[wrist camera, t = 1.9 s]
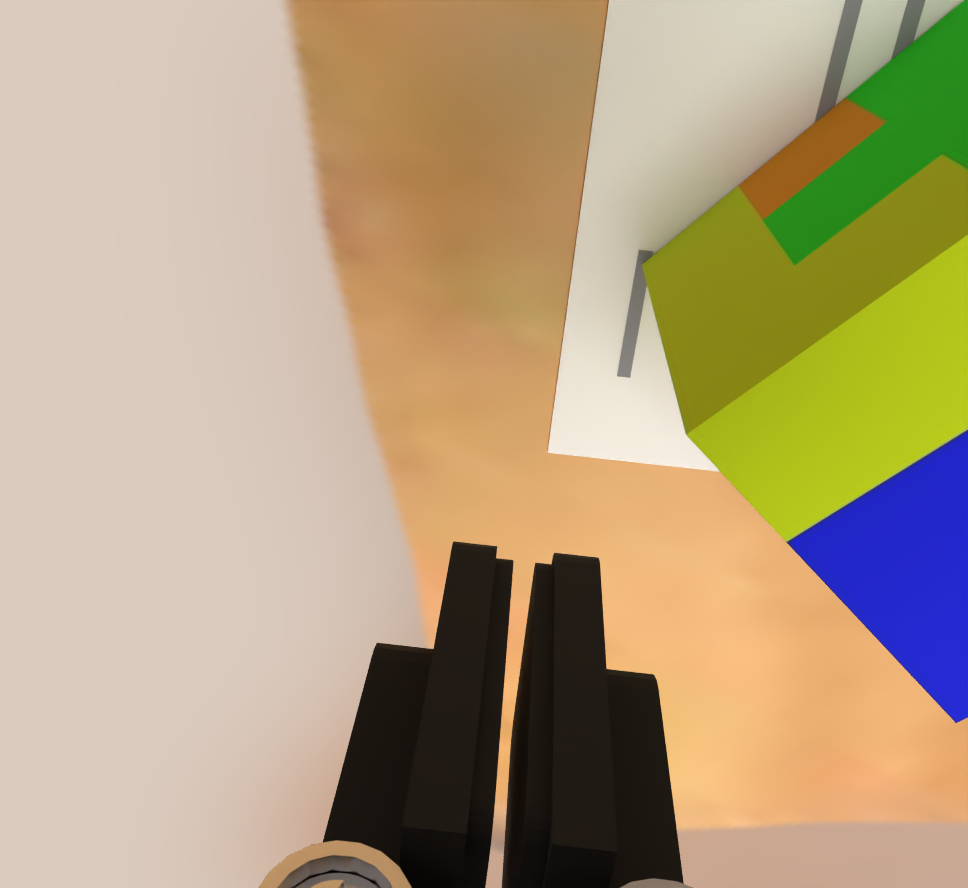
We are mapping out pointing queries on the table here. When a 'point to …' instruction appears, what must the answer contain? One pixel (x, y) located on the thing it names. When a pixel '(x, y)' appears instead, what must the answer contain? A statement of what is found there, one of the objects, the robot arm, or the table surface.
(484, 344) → the table surface
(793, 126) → the letter
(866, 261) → the puzzle toy
